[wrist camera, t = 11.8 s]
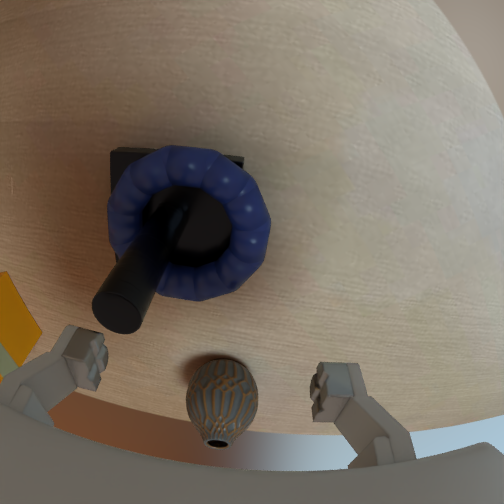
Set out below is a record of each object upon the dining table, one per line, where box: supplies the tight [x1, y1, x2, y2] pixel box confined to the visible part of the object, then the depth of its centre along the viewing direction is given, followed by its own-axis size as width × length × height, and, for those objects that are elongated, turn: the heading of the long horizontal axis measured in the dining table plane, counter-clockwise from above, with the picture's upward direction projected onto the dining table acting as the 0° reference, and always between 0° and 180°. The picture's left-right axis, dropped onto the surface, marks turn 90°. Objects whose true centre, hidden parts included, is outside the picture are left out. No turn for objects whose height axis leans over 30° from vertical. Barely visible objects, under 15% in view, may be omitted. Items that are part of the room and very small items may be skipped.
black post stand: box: [92, 147, 244, 334], centre depth 17 cm, size 9×9×12 cm
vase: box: [186, 359, 258, 450], centre depth 27 cm, size 7×7×9 cm
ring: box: [107, 145, 271, 301], centre depth 20 cm, size 11×11×2 cm
